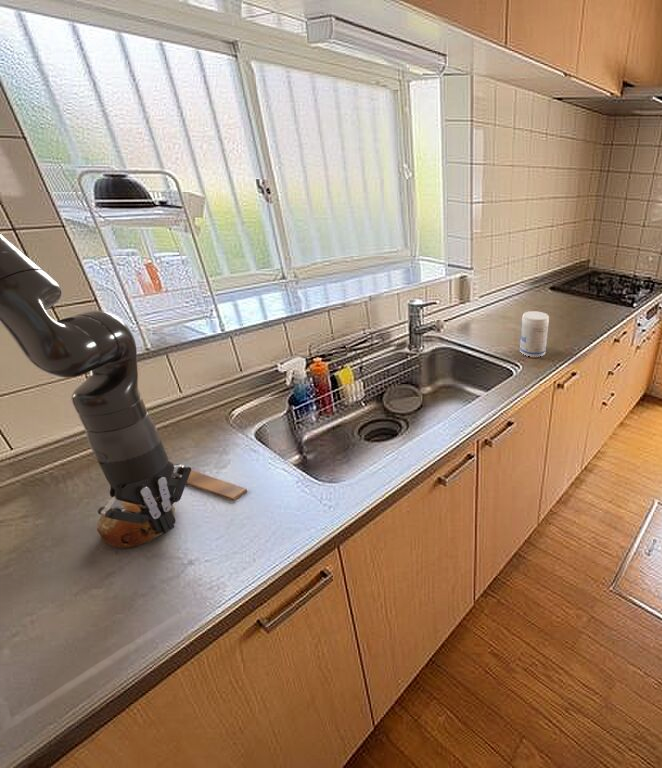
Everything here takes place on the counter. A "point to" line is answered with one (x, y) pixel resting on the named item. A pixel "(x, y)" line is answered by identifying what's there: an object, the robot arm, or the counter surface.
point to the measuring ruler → (215, 485)
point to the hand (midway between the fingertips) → (165, 529)
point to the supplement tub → (534, 334)
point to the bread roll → (126, 530)
